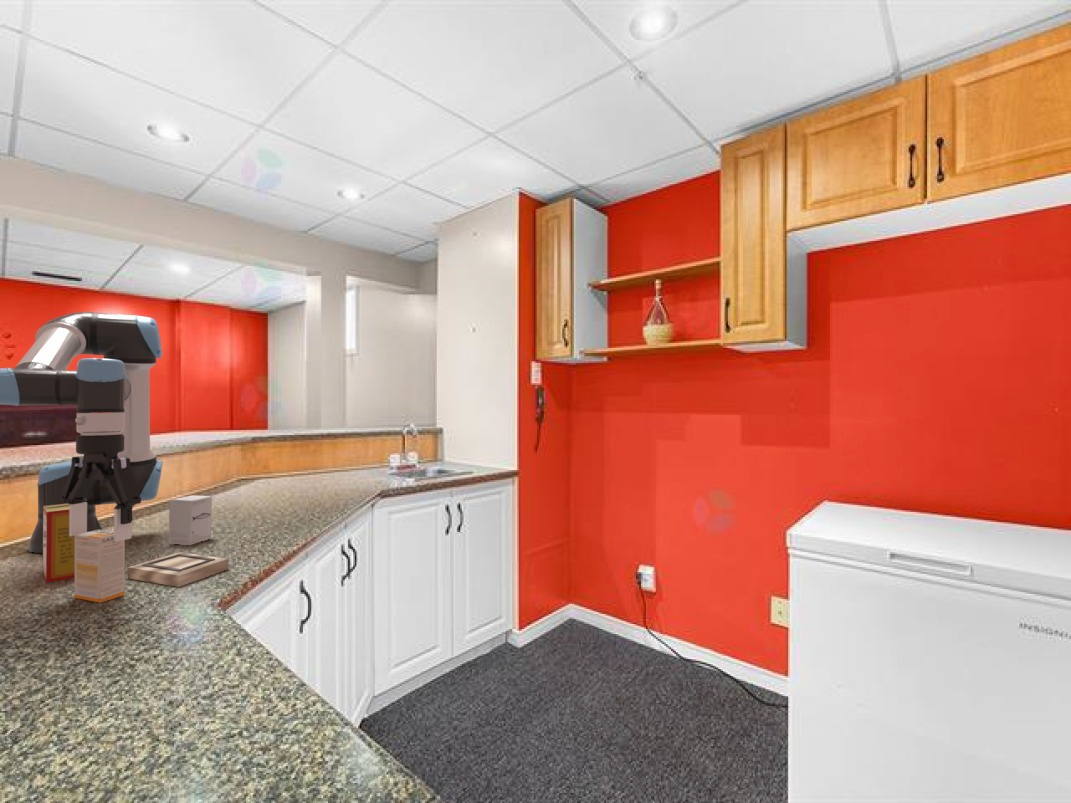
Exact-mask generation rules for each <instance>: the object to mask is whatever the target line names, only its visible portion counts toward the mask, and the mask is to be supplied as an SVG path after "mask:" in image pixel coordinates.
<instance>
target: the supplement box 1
mask: <svg viewBox="0 0 1071 803" xmlns="http://www.w3.org/2000/svg"><path fill="white" fill-rule="evenodd" d="M125 542H126V540H122V541H118V542H115V541H114V530H108V529H107V530H106V529H102V530H95V531H90V532H86V533H81V534H77V535H75V578H74V598H75V599H80V600H84V601H89V602H95V603H99V604H100V603H105V602H108V601H110V600H114V599H117V598H119V597H122V596H125V594H126V593H125V591H126V590H125V589H126V588H125V585H126V584H125V581H126V578H125V577H126V574H125V573H126V572H125V570H126V568H125V563H126V560H125V559H126V558H125V557H126V554H125V553H126V551H125V549H126V546H125Z"/></svg>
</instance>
